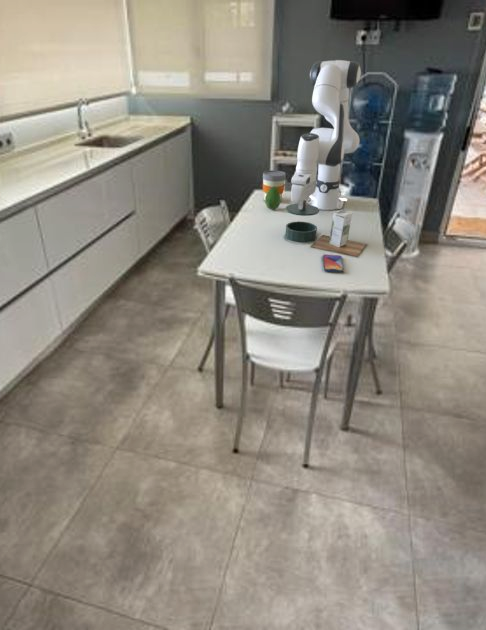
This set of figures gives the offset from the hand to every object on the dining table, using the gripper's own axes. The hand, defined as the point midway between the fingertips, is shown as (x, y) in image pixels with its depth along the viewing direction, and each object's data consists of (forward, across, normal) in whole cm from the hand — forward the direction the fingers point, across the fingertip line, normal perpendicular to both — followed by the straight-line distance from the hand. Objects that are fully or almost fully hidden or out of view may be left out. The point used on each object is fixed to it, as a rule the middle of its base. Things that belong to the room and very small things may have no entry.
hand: (302, 207), depth 195 cm
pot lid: (+1, 0, 0) cm, 1 cm away
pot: (+14, 0, 0) cm, 14 cm away
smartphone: (+14, +20, +22) cm, 33 cm away
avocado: (+14, -30, -27) cm, 43 cm away
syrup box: (+14, 0, +18) cm, 22 cm away
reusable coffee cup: (+14, -44, -33) cm, 57 cm away
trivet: (+14, 0, +18) cm, 23 cm away
